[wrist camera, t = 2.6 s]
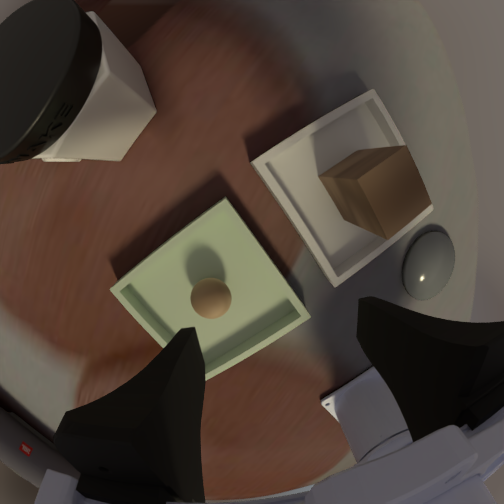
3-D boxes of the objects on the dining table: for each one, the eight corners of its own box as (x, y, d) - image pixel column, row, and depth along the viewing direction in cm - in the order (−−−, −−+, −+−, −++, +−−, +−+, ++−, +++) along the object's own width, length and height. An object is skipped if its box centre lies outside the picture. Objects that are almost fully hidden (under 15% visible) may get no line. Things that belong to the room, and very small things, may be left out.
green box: (305, 306, 23) (311, 317, 21) (202, 370, 24) (201, 383, 22) (225, 196, 20) (225, 198, 18) (117, 280, 21) (109, 289, 19)
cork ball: (238, 293, 22) (240, 311, 19) (208, 313, 22) (206, 333, 19) (215, 264, 21) (213, 279, 18) (184, 286, 21) (179, 303, 18)
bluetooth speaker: (96, 463, 29) (84, 508, 19) (81, 472, 30) (69, 510, 20) (-14, 377, 23) (-42, 414, 13) (-16, 397, 24) (-38, 430, 15)
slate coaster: (456, 270, 24) (459, 272, 23) (413, 310, 24) (416, 313, 24) (441, 217, 22) (445, 218, 21) (392, 259, 22) (396, 261, 22)
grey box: (421, 206, 21) (433, 209, 20) (327, 279, 22) (334, 287, 21) (363, 93, 18) (373, 88, 17) (249, 162, 19) (252, 161, 17)
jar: (53, 161, 17) (-56, 169, 6) (71, 70, 15) (-17, 23, 4) (148, 166, 19) (57, 163, 7) (168, 64, 16) (117, -27, 5)
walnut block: (380, 193, 20) (431, 203, 14) (344, 220, 21) (387, 240, 14) (357, 150, 19) (406, 145, 13) (318, 176, 20) (357, 179, 13)
